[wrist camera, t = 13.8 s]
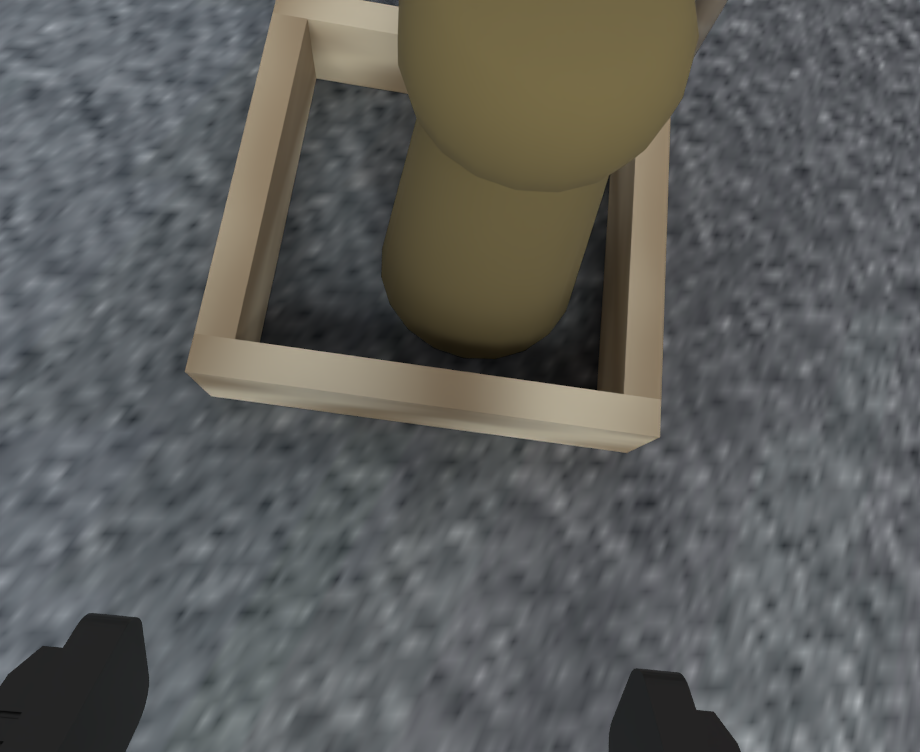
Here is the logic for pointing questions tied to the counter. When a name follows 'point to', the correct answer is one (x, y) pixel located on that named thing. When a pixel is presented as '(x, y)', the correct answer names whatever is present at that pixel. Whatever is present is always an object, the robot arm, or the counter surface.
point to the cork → (518, 154)
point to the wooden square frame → (400, 384)
